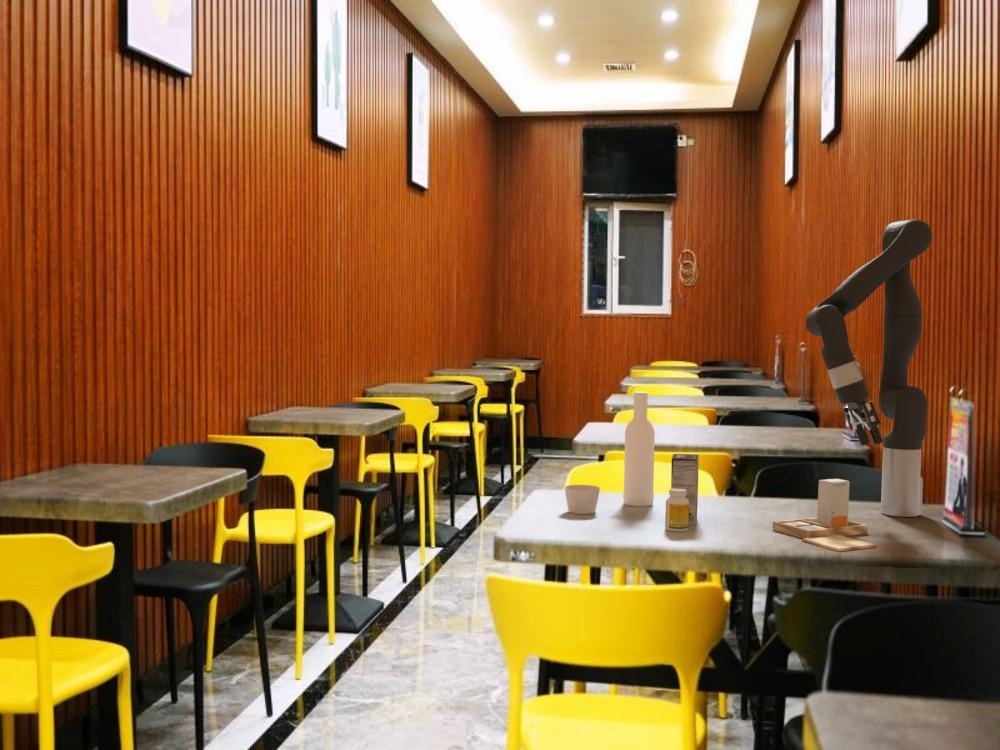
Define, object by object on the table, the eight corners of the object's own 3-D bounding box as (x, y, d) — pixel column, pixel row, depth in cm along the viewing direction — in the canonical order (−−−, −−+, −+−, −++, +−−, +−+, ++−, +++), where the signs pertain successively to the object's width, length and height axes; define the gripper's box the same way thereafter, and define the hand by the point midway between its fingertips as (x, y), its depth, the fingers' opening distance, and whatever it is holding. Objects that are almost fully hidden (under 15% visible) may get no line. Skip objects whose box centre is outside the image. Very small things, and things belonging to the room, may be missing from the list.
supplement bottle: (660, 528, 243) (661, 488, 243) (679, 526, 245) (680, 486, 245) (674, 532, 238) (675, 491, 238) (693, 531, 241) (694, 490, 240)
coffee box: (671, 517, 258) (672, 453, 257) (697, 518, 256) (698, 454, 256) (669, 524, 249) (671, 457, 248) (696, 525, 247) (698, 458, 247)
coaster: (838, 537, 236) (838, 534, 236) (875, 547, 226) (875, 544, 226) (801, 541, 231) (802, 538, 231) (838, 551, 221) (838, 548, 221)
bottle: (657, 503, 277) (659, 391, 276) (648, 507, 270) (650, 393, 268) (628, 500, 281) (630, 390, 279) (619, 505, 273) (621, 392, 272)
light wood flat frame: (829, 524, 251) (829, 516, 251) (867, 533, 241) (867, 525, 240) (772, 529, 243) (772, 521, 243) (808, 539, 233) (809, 531, 232)
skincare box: (829, 533, 240) (831, 482, 240) (816, 529, 244) (817, 479, 244) (848, 531, 243) (850, 480, 243) (835, 527, 247) (836, 478, 246)
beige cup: (606, 513, 262) (607, 488, 261) (579, 516, 257) (579, 491, 256) (584, 507, 269) (584, 483, 269) (557, 511, 264) (557, 486, 264)
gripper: (872, 374, 249) (897, 438, 248) (851, 380, 263) (875, 439, 262) (844, 385, 249) (869, 448, 248) (824, 389, 263) (847, 449, 262)
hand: (872, 444), depth 255 cm, fingers open, 8 cm apart
